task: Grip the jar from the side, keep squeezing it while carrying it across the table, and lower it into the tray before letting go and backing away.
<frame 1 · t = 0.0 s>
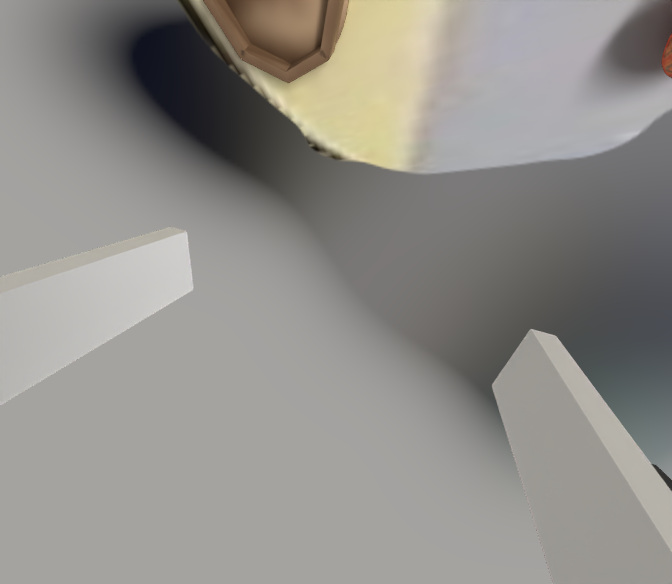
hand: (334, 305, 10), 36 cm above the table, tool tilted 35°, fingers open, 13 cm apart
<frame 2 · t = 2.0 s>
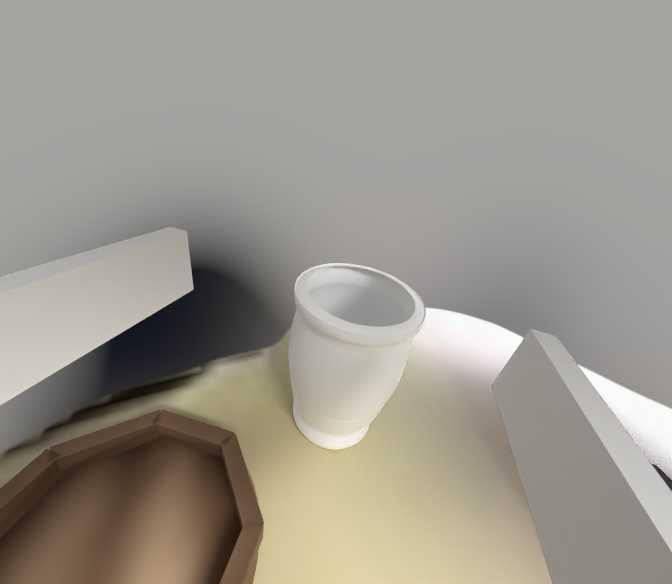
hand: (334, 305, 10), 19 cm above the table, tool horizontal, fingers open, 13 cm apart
jar: (331, 411, 28), on the table
tray: (116, 564, 16), on the table
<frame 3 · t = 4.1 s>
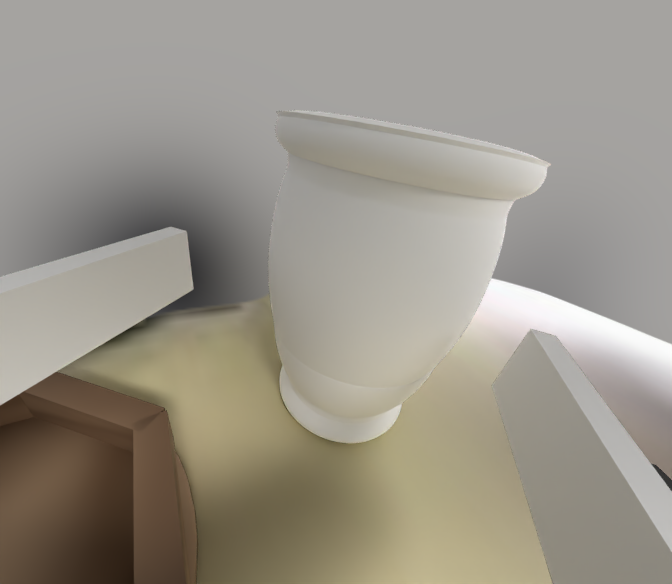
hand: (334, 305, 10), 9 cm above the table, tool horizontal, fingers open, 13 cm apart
jar: (339, 385, 18), on the table
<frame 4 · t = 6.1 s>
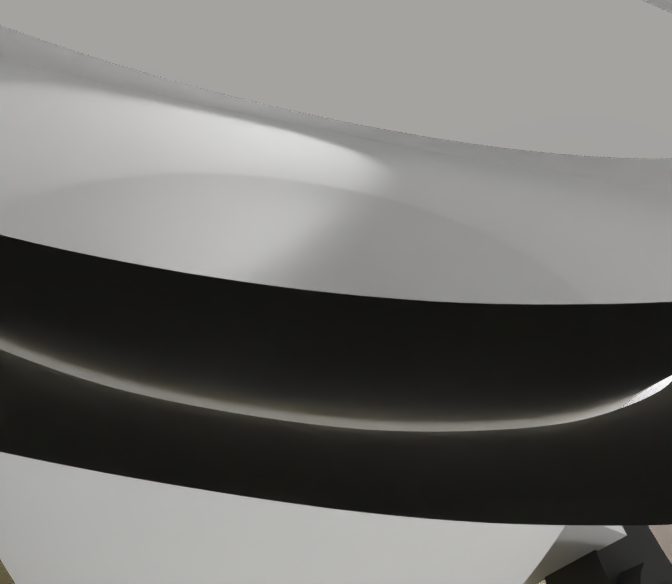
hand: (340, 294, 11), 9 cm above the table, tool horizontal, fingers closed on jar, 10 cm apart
jar: (282, 507, 12), on the table, touching gripper
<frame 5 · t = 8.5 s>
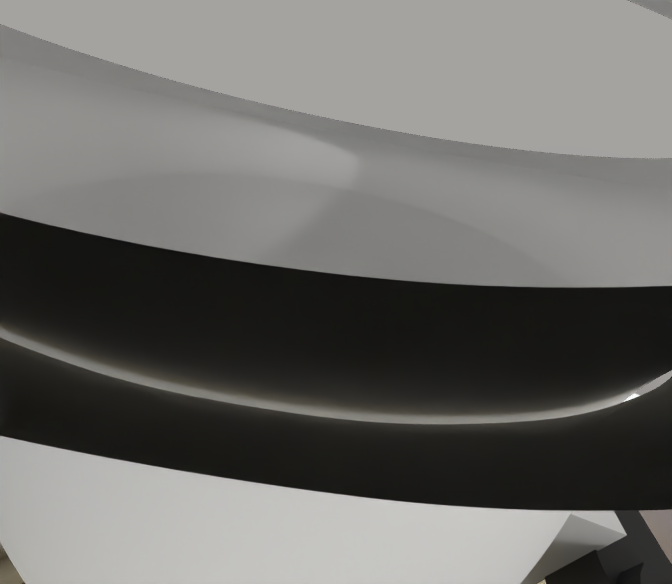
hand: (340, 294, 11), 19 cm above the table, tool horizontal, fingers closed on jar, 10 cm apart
jar: (282, 506, 12), point 10 cm above the table, touching gripper
when the fingers open (11 cm above the table, at t = 11.4 s): jar drops 1 cm, resting on tray.
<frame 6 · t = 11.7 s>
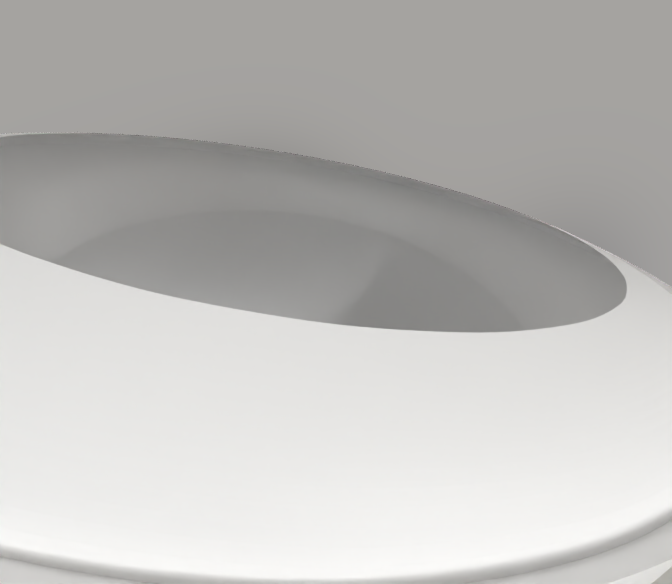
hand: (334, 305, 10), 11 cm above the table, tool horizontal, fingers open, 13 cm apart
jar: (276, 517, 13), point 1 cm above the table, touching tray
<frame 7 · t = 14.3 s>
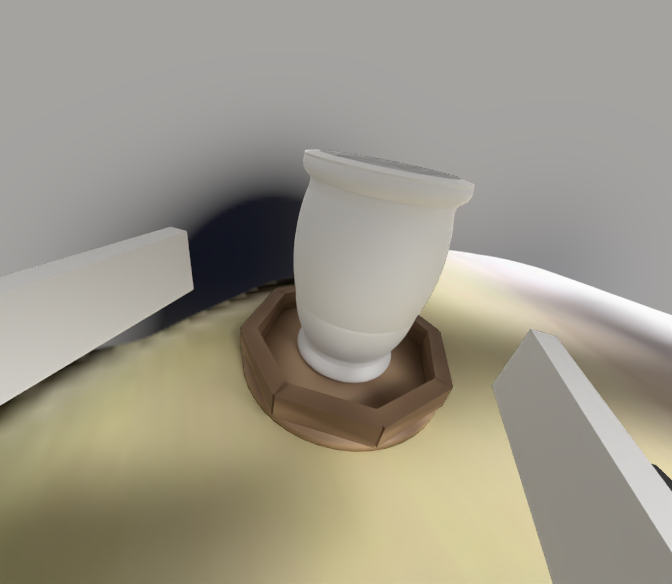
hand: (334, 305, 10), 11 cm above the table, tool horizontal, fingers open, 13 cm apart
jar: (343, 348, 24), point 1 cm above the table, touching tray
tray: (343, 353, 24), on the table
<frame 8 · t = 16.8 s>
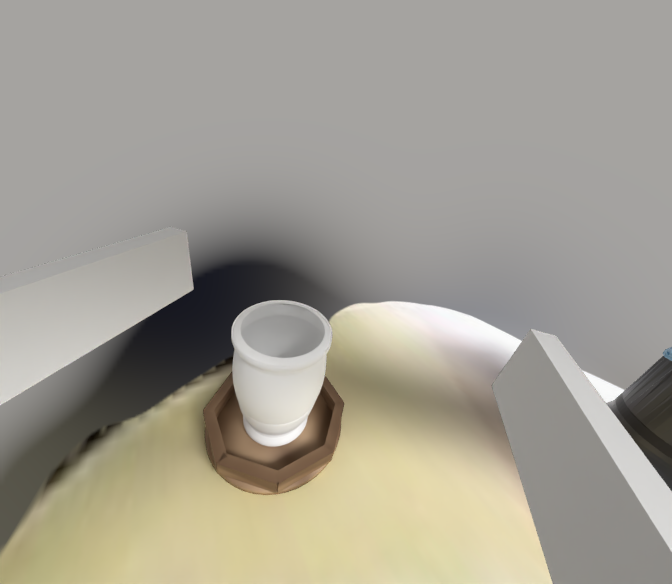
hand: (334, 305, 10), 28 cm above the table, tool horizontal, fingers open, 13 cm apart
jar: (276, 416, 35), point 1 cm above the table, touching tray
tray: (276, 419, 35), on the table
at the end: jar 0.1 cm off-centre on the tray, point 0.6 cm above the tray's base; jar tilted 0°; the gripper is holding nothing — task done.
